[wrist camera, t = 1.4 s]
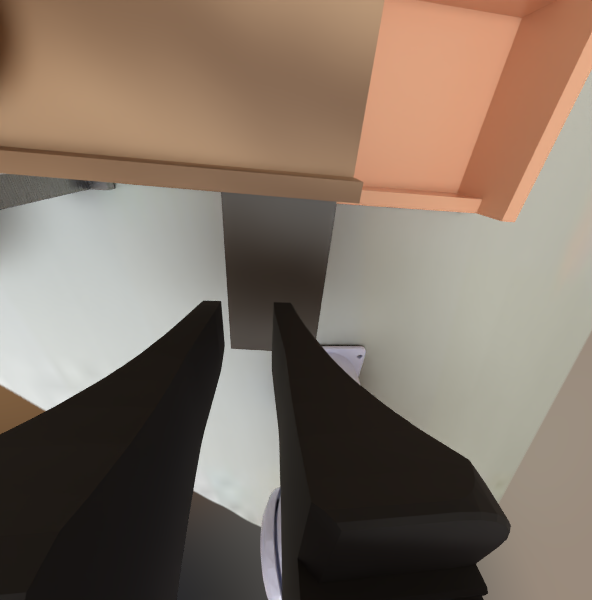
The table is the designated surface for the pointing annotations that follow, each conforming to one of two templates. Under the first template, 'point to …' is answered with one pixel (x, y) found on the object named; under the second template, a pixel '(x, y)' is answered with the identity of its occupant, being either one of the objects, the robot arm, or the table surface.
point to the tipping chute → (203, 120)
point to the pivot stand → (41, 188)
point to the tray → (469, 101)
